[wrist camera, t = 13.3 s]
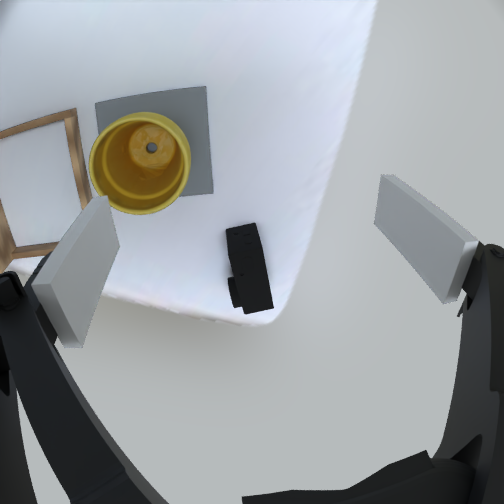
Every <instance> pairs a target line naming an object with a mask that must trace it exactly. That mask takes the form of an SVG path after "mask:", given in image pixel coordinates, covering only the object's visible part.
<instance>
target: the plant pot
mask: <svg viewBox="0 0 504 504" xmlns="http://www.w3.org/2000/svg"><path fill="white" fill-rule="evenodd" d="M149 143H154V144H155V145H156V146H157V149H156V151H154V152H149V151H148V149H147V146H148V144H149ZM190 167H191V151H190V146H189V143H188V140H187V138H186V136H185V134H184V133H183V131H182V130H181V129H180V127H179V126H178V125H177V124H175V123H174V122H173V121H172V120H170V119H169V118H167V117H165V116H163V115H160V114H157V113H152V112H138V113H133V114H129V115H126V116H124V117H122V118H120V119H118V120H116V121H115V122H113V123H111V124H110V125H109V126H107V127H106V128H105V129H104V130H103V131H102V132H101V133H100V135H99V136H98V137H97V139H96V140H95V142H94V144H93V146H92V149H91V152H90V157H89V174H90V178H91V181H92V184H93V186H94V188H95V190H96V191H97V193H98V194H99V196H108V201H109V205H110V206H111V207H113V208H115V209H116V210H119V211H121V212H124V213H128V214H134V215H145V214H151V213H155V212H158V211H160V210H162V209H164V208H166V207H167V206H169V205H170V204H172V203H173V202H174V201H175V200H176V199H177V198H178V197H179V195H180V194H181V193H182V191H183V189H184V188H185V185H186V183H187V181H188V177H189V173H190Z"/></svg>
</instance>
